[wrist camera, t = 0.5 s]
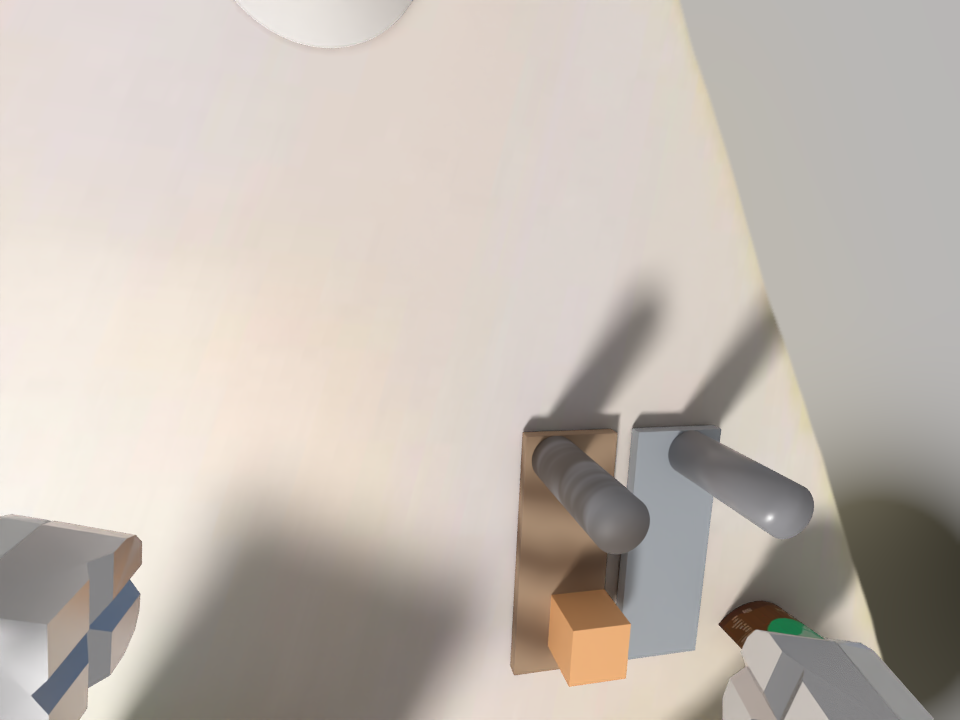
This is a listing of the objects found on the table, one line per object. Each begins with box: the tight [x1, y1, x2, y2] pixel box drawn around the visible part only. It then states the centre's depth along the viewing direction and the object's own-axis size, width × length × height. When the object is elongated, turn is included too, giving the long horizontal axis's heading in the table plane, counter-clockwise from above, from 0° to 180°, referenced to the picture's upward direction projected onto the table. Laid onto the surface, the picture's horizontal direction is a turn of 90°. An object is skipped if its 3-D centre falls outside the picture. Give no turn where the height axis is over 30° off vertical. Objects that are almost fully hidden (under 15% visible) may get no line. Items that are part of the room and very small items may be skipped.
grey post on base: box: [616, 425, 814, 659], centre depth 48 cm, size 22×8×13 cm, turn 178°
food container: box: [719, 601, 824, 649], centre depth 54 cm, size 12×6×10 cm, turn 52°
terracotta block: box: [548, 589, 631, 687], centre depth 50 cm, size 5×5×5 cm
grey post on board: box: [510, 429, 650, 675], centre depth 45 cm, size 22×8×13 cm, turn 178°
